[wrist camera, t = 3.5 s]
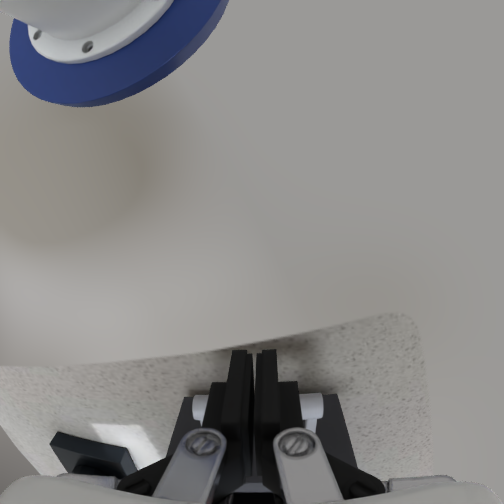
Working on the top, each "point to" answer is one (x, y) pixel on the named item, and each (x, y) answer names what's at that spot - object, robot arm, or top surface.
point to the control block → (92, 457)
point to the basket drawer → (253, 492)
